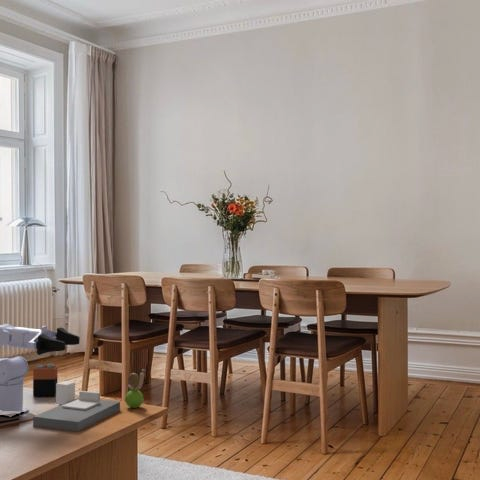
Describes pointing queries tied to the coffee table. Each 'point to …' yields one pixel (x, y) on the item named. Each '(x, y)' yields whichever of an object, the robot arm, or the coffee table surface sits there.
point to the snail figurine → (135, 390)
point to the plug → (65, 392)
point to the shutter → (84, 401)
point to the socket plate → (75, 416)
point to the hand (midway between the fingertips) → (71, 343)
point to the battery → (44, 380)
